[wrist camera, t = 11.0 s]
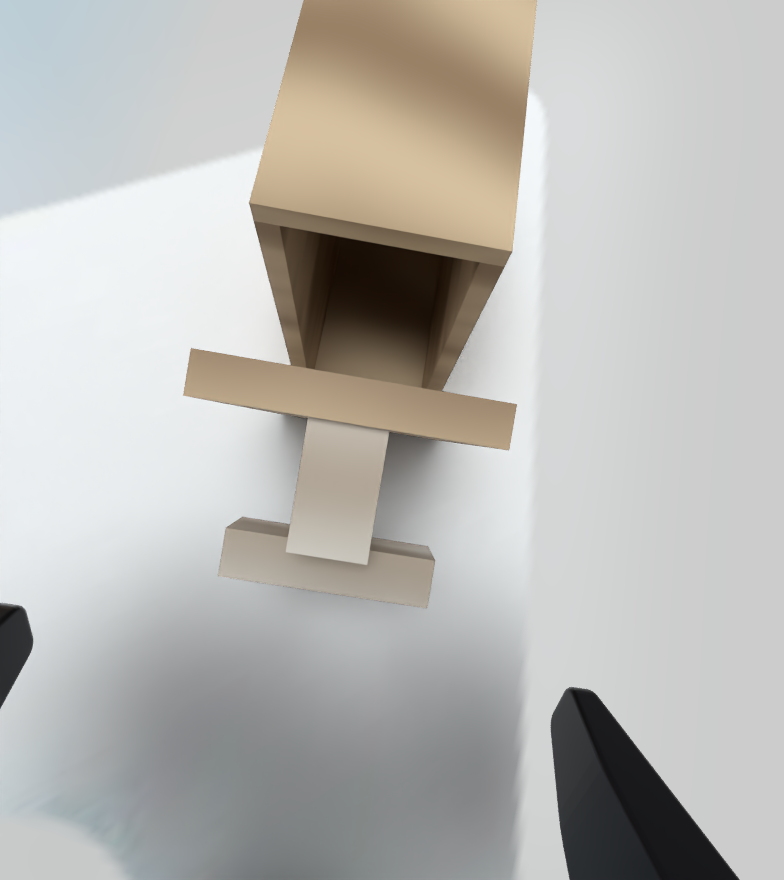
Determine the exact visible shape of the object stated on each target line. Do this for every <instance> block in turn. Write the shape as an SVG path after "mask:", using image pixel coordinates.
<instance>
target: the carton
mask: <svg viewBox="0 0 784 880" xmlns="http://www.w3.org/2000/svg"><path fill="white" fill-rule="evenodd" d="M536 5H537V0H304V1H303V5H302V9H301V13H300V16H299V20H298V23H297V27H296V31H295V35H294V39H293V42H292V46H291V49H290V53H289V57H288V61H287V64H286V68H285V72H284V76H283V79H282V83H281V87H280V90H279V94H278V98H277V101H276V105H275V109H274V113H273V116H272V120H271V124H270V128H269V131H268V135H267V138H266V142H265V146H264V149H263V153H262V157H261V161H260V164H259V168H258V172H257V175H256V179H255V183H254V187H253V190H252V194H251V198H250V201H249V204H250V208H251V212H252V216H253V220H254V224H255V227H256V231H257V235H258V239H259V243H260V247H261V251H262V254H263V258H264V262H265V266H266V270H267V274H268V278H269V281H270V285H271V289H272V293H273V297H274V301H275V305H276V308H277V312H278V316H279V320H280V324H281V328H282V332H283V335H284V339H285V343H286V347H287V351H288V355H289V359H290V362H291V366H297V367H303V368H308V369H314V370H320V371H326V372H332V373H337V374H343V375H349V376H355V377H361V378H367V379H372V380H378V381H384V382H390V383H396V384H401V385H407V386H413V387H419V388H425V389H431V390H436V391H442V389H443V388H444V386H445V384H446V382H447V380H448V378H449V376H450V374H451V372H452V370H453V368H454V366H455V364H456V362H457V360H458V358H459V356H460V354H461V352H462V350H463V348H464V346H465V344H466V342H467V340H468V338H469V336H470V334H471V332H472V330H473V328H474V326H475V324H476V322H477V320H478V318H479V316H480V314H481V312H482V310H483V308H484V306H485V304H486V302H487V300H488V298H489V296H490V294H491V292H492V291H493V289H494V287H495V285H496V283H497V281H498V279H499V277H500V275H501V273H502V271H503V269H504V267H505V265H506V263H507V261H508V259H509V257H510V255H511V253H512V249H513V239H514V229H515V218H516V208H517V198H518V188H519V178H520V168H521V158H522V147H523V137H524V127H525V117H526V107H527V97H528V87H529V76H530V66H531V56H532V45H533V35H534V25H535V16H536V15H535V14H536Z"/></svg>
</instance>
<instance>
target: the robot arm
mask: <svg viewBox="0 0 784 880" xmlns="http://www.w3.org/2000/svg"><path fill="white" fill-rule="evenodd" d="M32 646H33V636H32V632H31V628H30V624H29V621H28V617H27V613H26V610H25V609H24V608H23V607H22V606H19V605H13V604H6V603H0V708H1V706H2V705H3V703H4V701H5V699H6V697H7V695H8V694H9V692H10V690H11V688H12V686H13V684H14V683H15V681H16V679H17V677H18V675H19V673H20V672H21V670H22V668H23V666H24V664H25V662H26V660H27V659H28V657H29V655H30V653H31V650H32ZM551 738H552V748H553V758H554V769H555V779H556V790H557V801H558V812H559V821H560V829H561V835H562V841H563V847H564V852H565V858H566V863H567V868H568V873H569V879H570V880H739V878H738V877H737V876H736V874H735V873H734V872H733V871H732V869H731V868H730V867H729V865H728V864H727V863H726V861H725V860H724V859H723V858H722V856H721V855H720V854H719V853H718V851H717V850H716V849H715V847H714V846H713V845H712V843H711V842H710V841H709V839H708V838H707V837H706V836H705V834H704V833H703V832H702V830H701V829H700V828H699V827H698V825H697V824H696V823H695V821H694V820H693V819H692V818H691V816H690V815H689V814H688V812H687V811H686V810H685V809H684V807H683V806H682V805H681V803H680V802H679V801H678V799H677V798H676V797H675V796H674V794H673V793H672V792H671V790H670V789H669V788H668V786H667V785H666V784H665V783H664V781H663V780H662V779H661V777H660V776H659V775H658V774H657V772H656V771H655V770H654V768H653V767H652V766H651V765H650V763H649V762H648V761H647V759H646V758H645V757H644V755H643V754H642V753H641V752H640V750H639V749H638V748H637V746H636V745H635V744H634V743H633V741H632V740H631V739H630V737H629V736H628V735H627V733H626V732H625V731H624V730H623V728H622V727H621V726H620V724H619V723H618V722H617V721H616V719H615V718H614V717H613V715H612V714H611V713H610V711H609V710H608V709H607V708H606V706H605V705H604V704H603V703H602V701H601V700H600V699H599V697H598V696H597V695H596V694H595V693H594V692H593V691H591V690H588V689H582V688H574V687H569V688H568V689H566V690H565V692H564V694H563V696H562V698H561V699H560V701H559V703H558V705H557V707H556V709H555V711H554V713H553V715H552V719H551Z"/></svg>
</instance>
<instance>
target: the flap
mask: <svg viewBox="0 0 784 880" xmlns="http://www.w3.org/2000/svg"><path fill="white" fill-rule="evenodd" d="M183 395H184V396H189V397H194V398H199V399H205V400H210V401H215V402H220V403H226V404H231V405H236V406H242V407H247V408H252V409H257V410H263V411H268V412H273V413H278V414H284V415H290V416H296V417H302V418H308V420H307V426H306V432H305V438H304V444H303V450H302V456H301V462H300V468H299V474H298V480H297V486H296V492H295V498H294V504H293V510H292V517H291V523H290V524H284V523H278V522H271V521H265V520H259V519H253V518H246V517H241V518H240V519H238V520H237V521H235V522H234V523H232V524H231V525H229V526H228V527H226V530H225V536H224V542H223V549H222V555H221V561H220V567H219V573H218V576H220V577H227V578H233V579H240V580H246V581H253V582H259V583H266V584H272V585H279V586H285V587H292V588H298V589H305V590H311V591H318V592H324V593H331V594H337V595H344V596H350V597H357V598H363V599H370V600H376V601H383V602H389V603H396V604H402V605H409V606H415V607H422V608H427V606H428V600H429V594H430V588H431V582H432V576H433V570H434V565H435V560H434V558H433V555H432V553H431V551H430V549H429V547H428V546H423V545H416V544H410V543H404V542H397V541H391V540H385V539H378V538H372V532H373V526H374V520H375V514H376V508H377V503H378V497H379V491H380V485H381V479H382V473H383V467H384V461H385V455H386V449H387V443H388V437H389V432H391V433H397V434H403V435H409V436H415V437H421V438H427V439H433V440H439V441H446V442H454V443H461V444H468V445H475V446H483V447H490V448H497V449H504V450H509V448H510V442H511V436H512V430H513V424H514V418H515V412H516V407H517V404H512V403H506V402H500V401H495V400H489V399H483V398H477V397H471V396H465V395H460V394H454V393H448V392H442V391H436V390H431V389H425V388H419V387H413V386H407V385H401V384H396V383H390V382H384V381H378V380H372V379H367V378H361V377H355V376H349V375H343V374H337V373H332V372H326V371H320V370H314V369H308V368H303V367H297V366H291V365H285V364H279V363H274V362H268V361H262V360H256V359H250V358H244V357H239V356H233V355H227V354H221V353H215V352H210V351H204V350H198V349H192V348H191V351H190V357H189V363H188V369H187V375H186V382H185V388H184V394H183Z"/></svg>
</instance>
